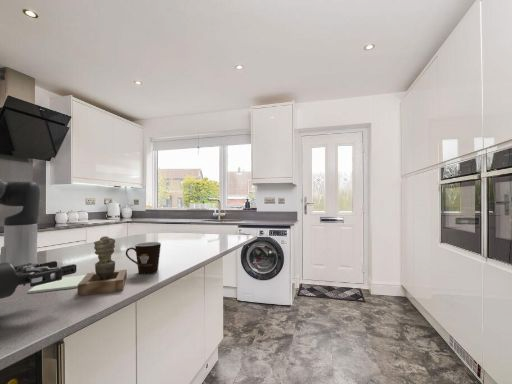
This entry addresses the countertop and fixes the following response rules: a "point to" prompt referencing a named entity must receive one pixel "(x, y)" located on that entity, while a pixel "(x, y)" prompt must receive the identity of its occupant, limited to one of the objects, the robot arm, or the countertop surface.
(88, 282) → the brown wooden square frame
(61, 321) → the countertop surface
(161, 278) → the countertop surface
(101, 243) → the light bulb
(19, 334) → the countertop surface
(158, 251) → the coffee mug
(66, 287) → the mat
